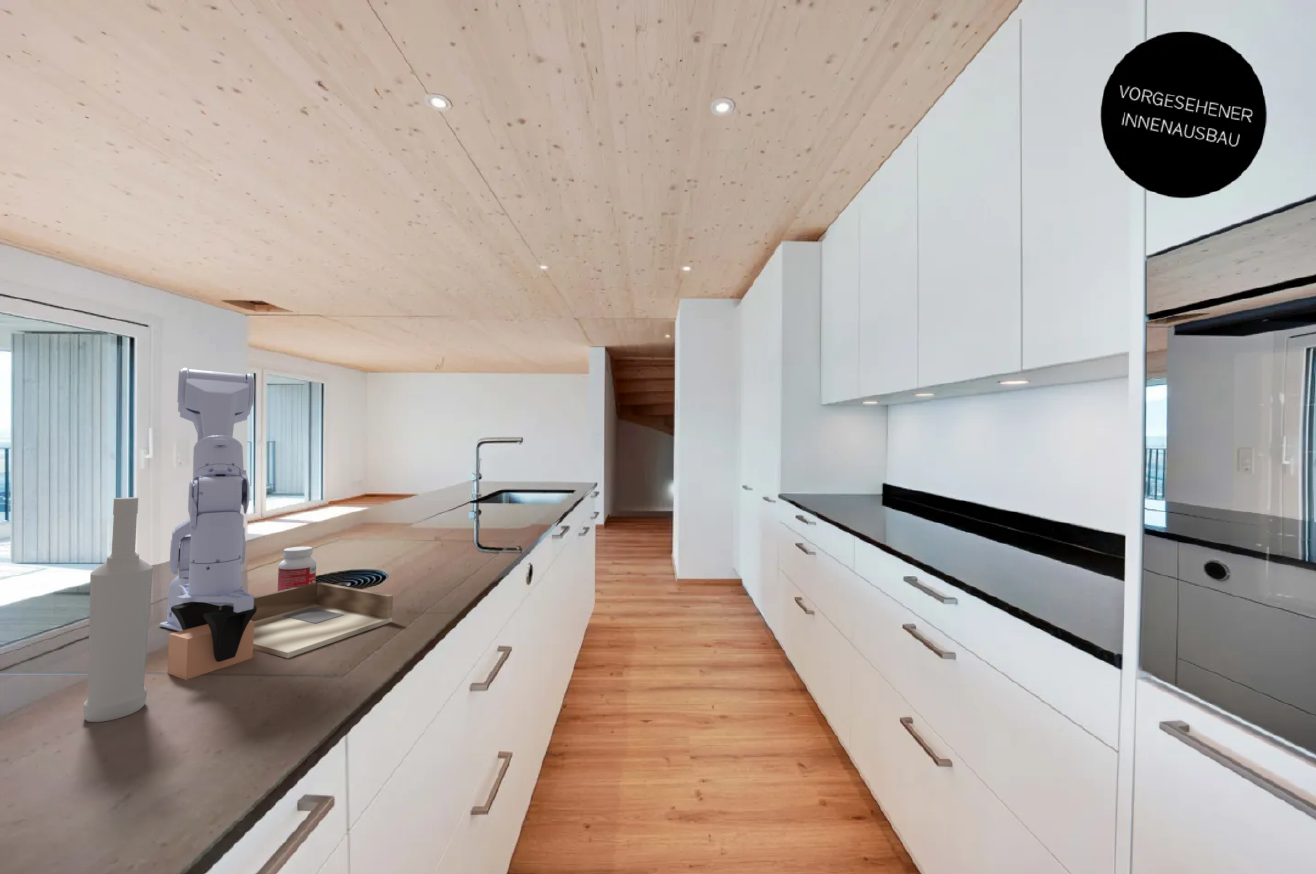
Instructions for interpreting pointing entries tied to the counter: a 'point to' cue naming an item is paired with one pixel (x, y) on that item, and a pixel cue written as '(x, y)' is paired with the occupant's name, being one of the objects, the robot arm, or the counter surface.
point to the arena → (315, 617)
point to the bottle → (119, 623)
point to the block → (202, 651)
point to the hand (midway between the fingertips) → (212, 655)
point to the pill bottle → (296, 568)
